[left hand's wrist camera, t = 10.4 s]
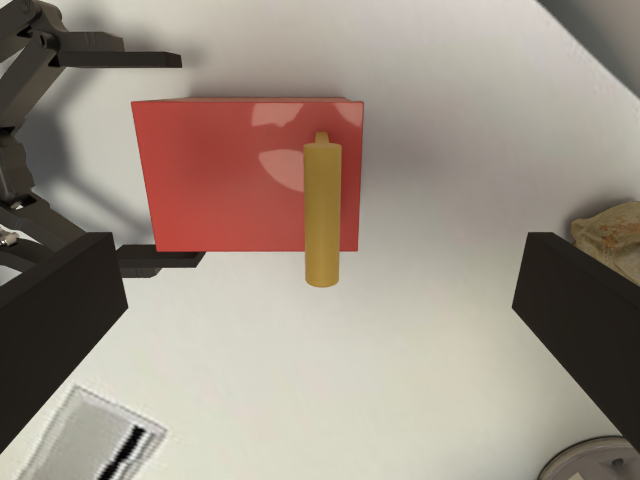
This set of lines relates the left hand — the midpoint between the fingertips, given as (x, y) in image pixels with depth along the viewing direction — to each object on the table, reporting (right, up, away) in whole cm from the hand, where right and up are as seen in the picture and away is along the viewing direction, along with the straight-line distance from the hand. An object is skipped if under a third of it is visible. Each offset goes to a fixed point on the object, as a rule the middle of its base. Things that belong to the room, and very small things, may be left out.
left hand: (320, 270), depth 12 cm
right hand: (-9, +6, +14) cm, 18 cm away
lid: (-4, +5, +12) cm, 14 cm away
